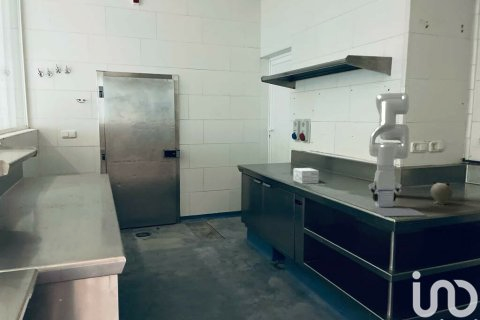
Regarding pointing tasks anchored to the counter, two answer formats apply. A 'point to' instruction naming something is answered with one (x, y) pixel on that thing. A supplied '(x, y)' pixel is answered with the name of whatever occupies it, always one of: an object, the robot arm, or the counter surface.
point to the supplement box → (305, 175)
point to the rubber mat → (397, 212)
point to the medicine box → (385, 198)
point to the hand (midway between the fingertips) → (384, 200)
